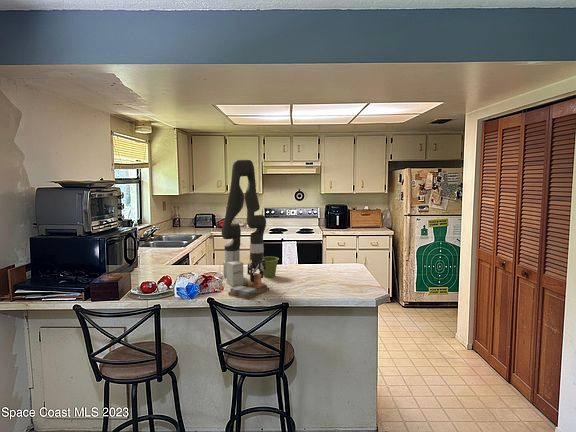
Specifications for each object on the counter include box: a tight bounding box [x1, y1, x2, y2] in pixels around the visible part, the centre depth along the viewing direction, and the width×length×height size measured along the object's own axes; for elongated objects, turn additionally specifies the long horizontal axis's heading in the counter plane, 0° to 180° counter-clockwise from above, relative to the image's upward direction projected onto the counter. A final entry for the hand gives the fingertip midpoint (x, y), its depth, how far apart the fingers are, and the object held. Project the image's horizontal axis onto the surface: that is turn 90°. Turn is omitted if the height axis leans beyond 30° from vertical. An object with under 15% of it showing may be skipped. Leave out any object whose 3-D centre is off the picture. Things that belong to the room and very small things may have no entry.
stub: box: [247, 272, 266, 288], centre depth 221 cm, size 9×4×7 cm, turn 59°
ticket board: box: [227, 282, 270, 300], centre depth 216 cm, size 14×18×4 cm
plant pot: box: [263, 256, 280, 278], centre depth 249 cm, size 12×12×11 cm
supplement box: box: [226, 261, 244, 287], centre depth 232 cm, size 7×7×13 cm
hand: (256, 279), depth 222 cm, fingers open, 8 cm apart
